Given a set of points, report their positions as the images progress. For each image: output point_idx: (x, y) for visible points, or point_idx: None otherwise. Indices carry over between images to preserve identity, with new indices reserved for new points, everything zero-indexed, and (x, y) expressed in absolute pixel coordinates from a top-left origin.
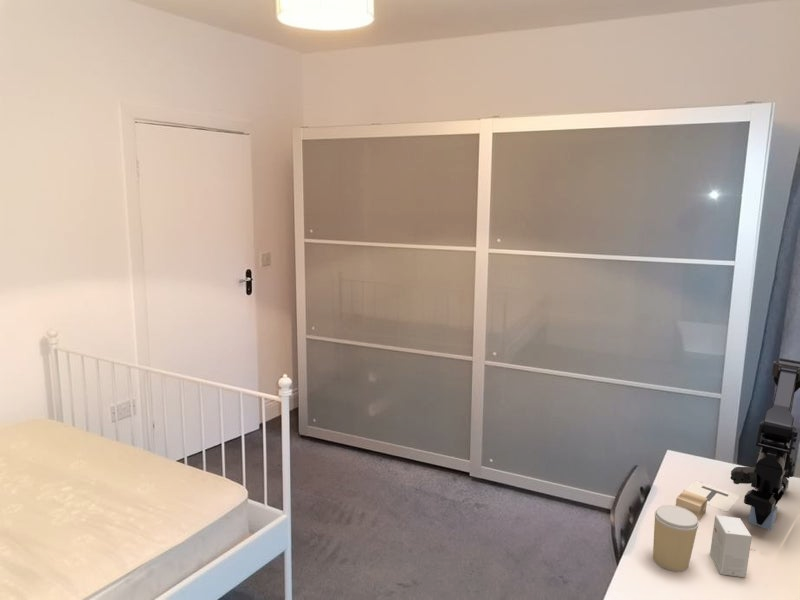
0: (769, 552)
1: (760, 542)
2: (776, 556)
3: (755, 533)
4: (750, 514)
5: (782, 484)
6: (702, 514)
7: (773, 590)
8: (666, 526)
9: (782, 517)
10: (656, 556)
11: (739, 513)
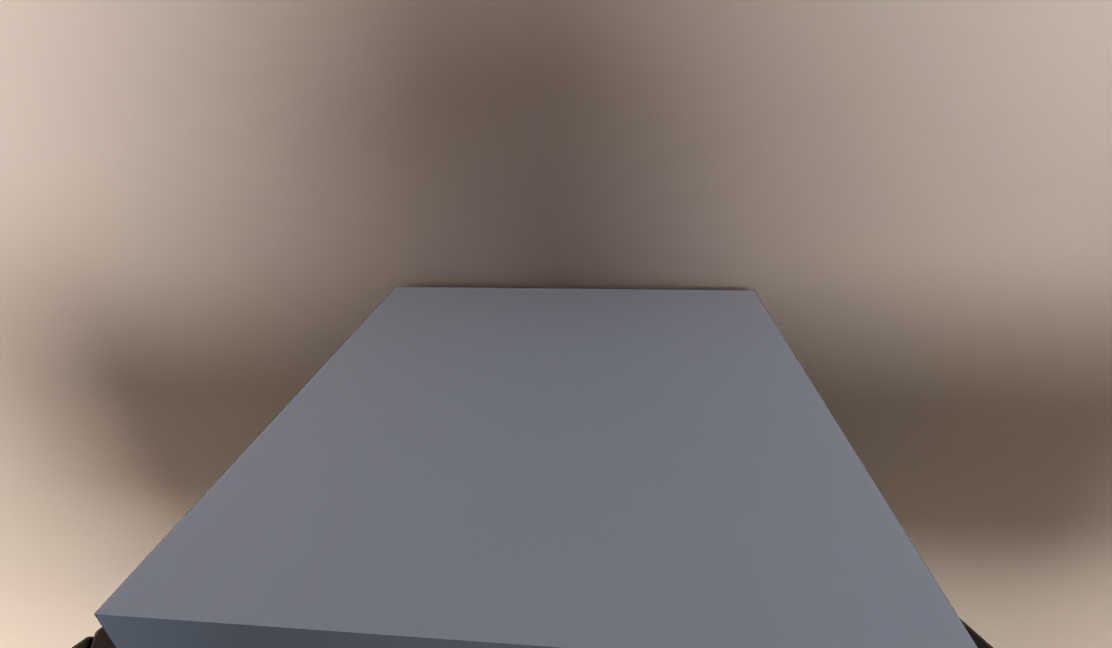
0: (20, 575)
1: (97, 492)
2: (30, 619)
3: (237, 416)
4: (297, 411)
5: None
6: None
7: None
8: None
9: (1039, 583)
10: None
11: (722, 22)
